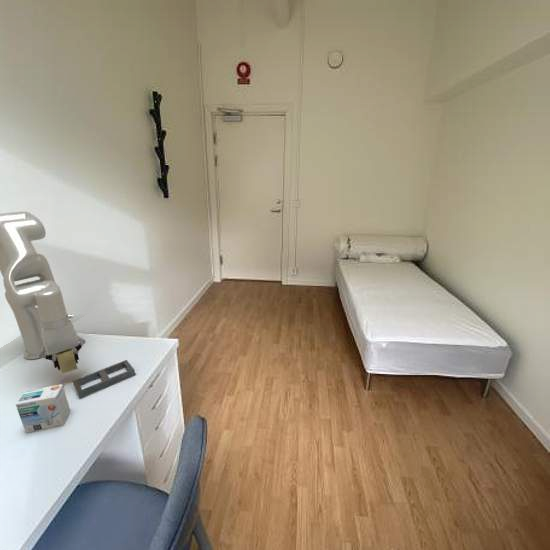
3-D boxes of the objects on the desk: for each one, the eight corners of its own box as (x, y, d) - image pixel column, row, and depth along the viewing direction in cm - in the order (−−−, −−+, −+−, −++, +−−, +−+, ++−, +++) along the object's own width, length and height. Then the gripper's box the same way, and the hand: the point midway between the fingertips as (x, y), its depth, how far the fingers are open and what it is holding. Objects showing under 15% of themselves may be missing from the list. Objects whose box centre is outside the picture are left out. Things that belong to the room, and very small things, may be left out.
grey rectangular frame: (74, 386, 117) (72, 381, 116) (127, 365, 129) (126, 359, 128) (79, 399, 110) (77, 393, 110) (135, 375, 122) (134, 369, 121)
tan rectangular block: (59, 367, 119) (54, 349, 116) (74, 362, 122) (69, 344, 119) (61, 374, 116) (56, 355, 113) (77, 368, 119) (72, 350, 116)
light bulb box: (25, 433, 97) (14, 404, 93) (34, 417, 103) (24, 390, 99) (64, 425, 99) (55, 397, 96) (71, 410, 105) (63, 383, 102)
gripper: (80, 310, 120) (90, 351, 126) (24, 325, 109) (38, 369, 116) (85, 317, 115) (95, 360, 121) (27, 334, 104) (41, 380, 111)
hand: (67, 364), depth 118 cm, fingers closed on tan rectangular block, 5 cm apart
